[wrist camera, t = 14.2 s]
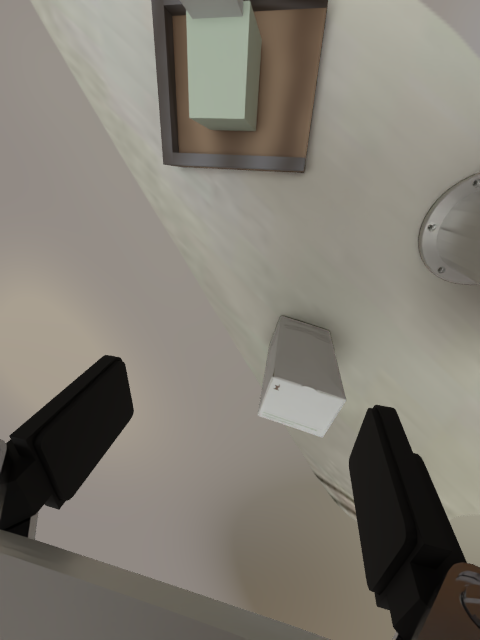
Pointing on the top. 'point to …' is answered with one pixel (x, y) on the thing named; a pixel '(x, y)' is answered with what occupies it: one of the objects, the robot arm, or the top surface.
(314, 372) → the skincare box
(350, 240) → the top surface
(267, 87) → the brown wooden tray
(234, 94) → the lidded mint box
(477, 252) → the robot arm
